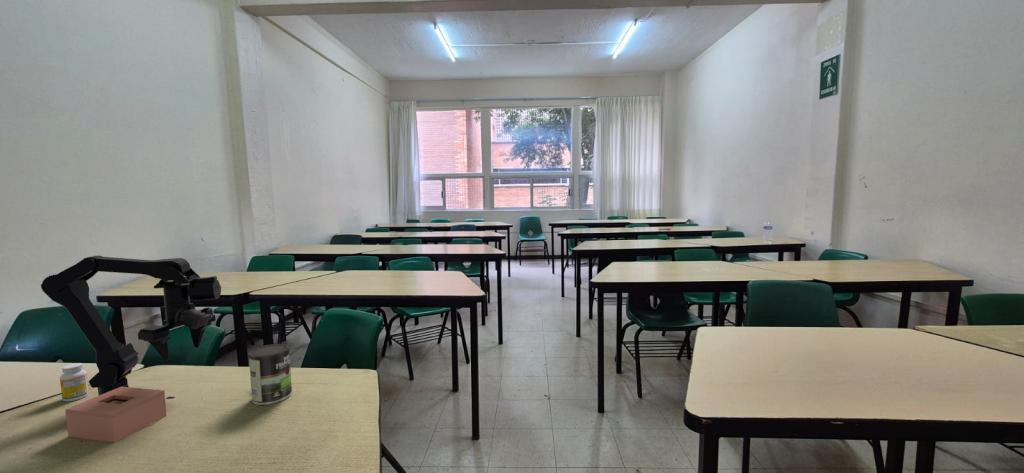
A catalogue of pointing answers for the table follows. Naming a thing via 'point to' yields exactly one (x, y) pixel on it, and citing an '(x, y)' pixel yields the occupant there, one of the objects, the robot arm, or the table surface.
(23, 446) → the table surface
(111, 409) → the coin box
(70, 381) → the supplement bottle
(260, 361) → the coffee can
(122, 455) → the table surface
